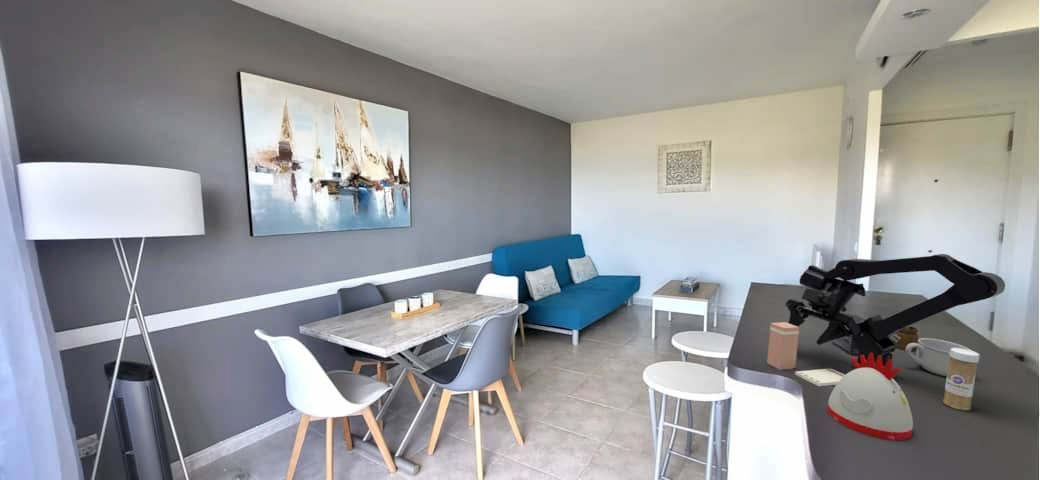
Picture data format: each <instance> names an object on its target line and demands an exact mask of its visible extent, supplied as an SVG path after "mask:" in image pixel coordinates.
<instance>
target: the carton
mask: <svg viewBox="0 0 1040 480" xmlns="http://www.w3.org/2000/svg"><path fill="white" fill-rule="evenodd" d="M799 334H800V326H798V327H797V326H795V325H792V324H789V322H786V321H783V322H782V321H781V322H771V323H770V327H769V340H768V351H767V364H768V365H770V366H772V367H774V368H775V369H777V370H780V371H782V370H783V371H784V369H785V370H794V369H793V368H795V369H796V365H797V356H798V355H797V354H798V345H799V344H798V343H799Z"/></svg>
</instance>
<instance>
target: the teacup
mask: <svg viewBox="0 0 1040 480" xmlns="http://www.w3.org/2000/svg"><path fill="white" fill-rule="evenodd" d="M913 347H917V349H916V354H915V355H914V354H913V353H912V351H911V349H912V348H913ZM951 348H962V349H967V350H971V351H973V350H972V349H970V348H969V347H967V346H965V345H962V344H959V343H955V342H952V341H948V340H943V339H937V338H927V337H923V338H922V337H921V338H918V344H917V343H910V344H908V345H907V346H906V349H905V350H904V351H905V353H906V354H907V356H909V358H912V360H914V361H915V362H916V363H917V364H919V365H920V366H921V367H922V368H923V369H924V370H926V371H928V372H929V373H933V374H935V375H939V376H943V377H947V374H948V368H949V362H950V356H949V354H950V349H951Z"/></svg>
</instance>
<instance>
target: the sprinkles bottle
mask: <svg viewBox="0 0 1040 480" xmlns="http://www.w3.org/2000/svg"><path fill="white" fill-rule="evenodd" d="M971 350H972V349H970V350H967V349H962V348H951V349H950V354H949V356H950V362H949V368H948V374H947V376H946V379H945V386H944V395H943V399H942V402H943V404H944V405H946V406H948V407H950V408H952V409H956V410H958V411H970V410H971V409H972V406H971V405H972V399H973V396H974V395H973V394H974V389H975V382H976V374H977V373H976V372H977V367H978V364H979V362H980V353H978V352H976V351H974V350H972V351H971Z"/></svg>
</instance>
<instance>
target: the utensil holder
mask: <svg viewBox="0 0 1040 480" xmlns="http://www.w3.org/2000/svg"><path fill="white" fill-rule="evenodd" d="M918 332H919V331H918V328H917V327H914V326H912V325H910V326H907V327H905V328H902V329H900V330H899V331H898V332H896V333H895V334H894V335H892V338H891V340H892V341H893V342H894V343H895V344H896V345H897V348H896V349H899V350H903V351H906V350H905V349H906V346H907V345H908V344H910V343H917V344H918V339H919V335H918ZM914 351H917V347H913V348H912V349H911V352H914Z"/></svg>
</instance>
